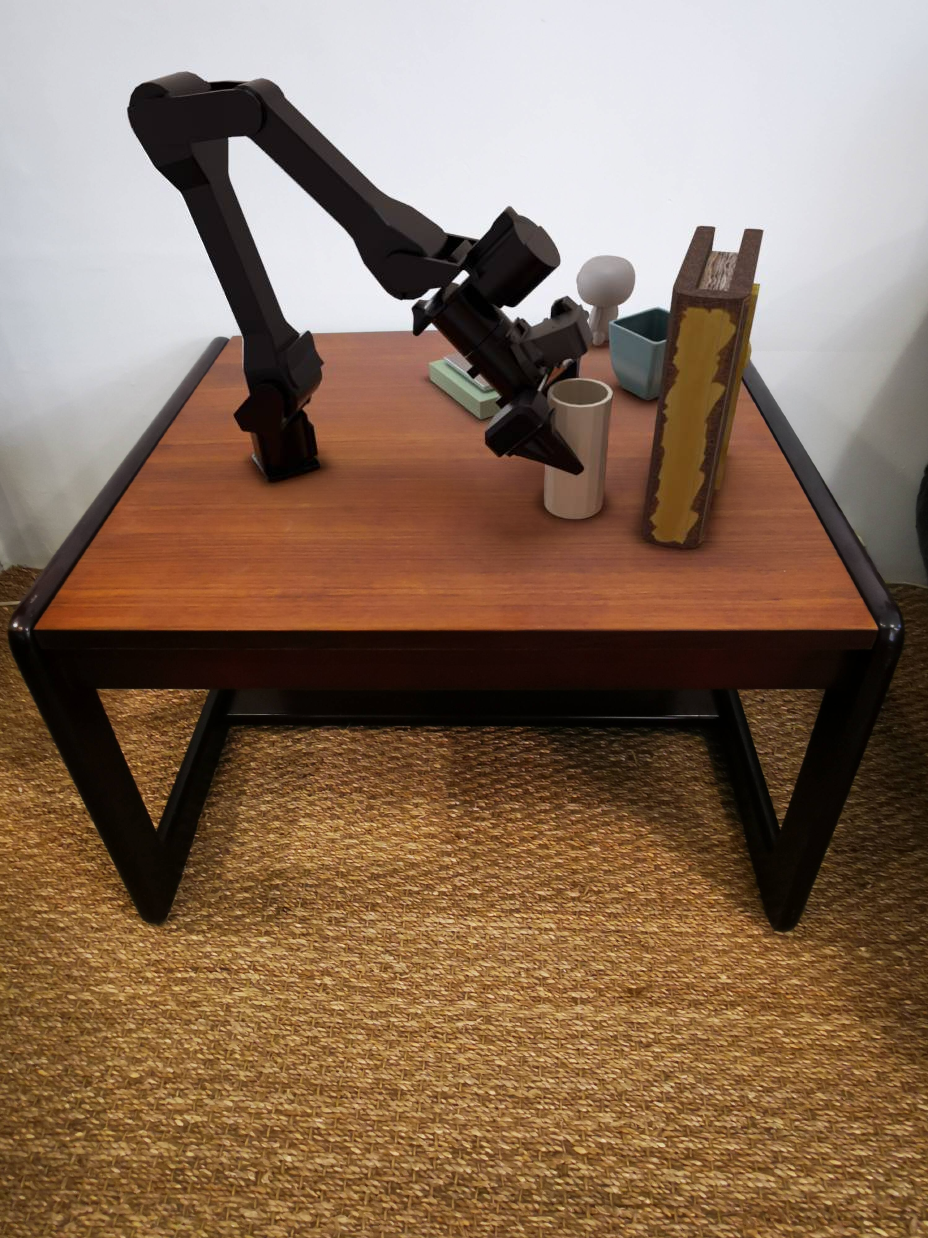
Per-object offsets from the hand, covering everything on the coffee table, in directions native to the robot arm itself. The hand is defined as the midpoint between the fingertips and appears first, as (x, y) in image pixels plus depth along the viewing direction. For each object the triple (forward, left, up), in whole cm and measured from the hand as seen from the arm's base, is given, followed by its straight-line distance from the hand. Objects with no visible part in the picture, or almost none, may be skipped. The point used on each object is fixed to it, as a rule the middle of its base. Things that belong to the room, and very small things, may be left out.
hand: (589, 449), depth 85 cm
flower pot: (+23, +18, -7) cm, 30 cm away
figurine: (+27, +34, -7) cm, 44 cm away
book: (+11, -3, -7) cm, 13 cm away
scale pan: (+7, +30, -4) cm, 31 cm away
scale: (+7, +30, -7) cm, 31 cm away
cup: (-1, +1, -7) cm, 7 cm away
